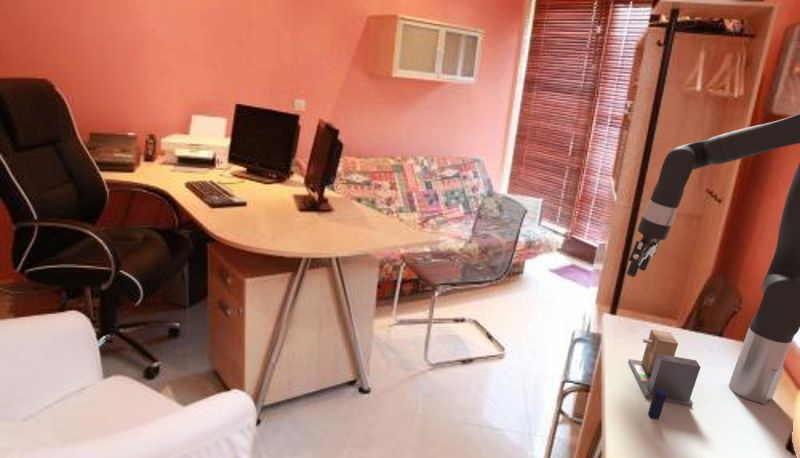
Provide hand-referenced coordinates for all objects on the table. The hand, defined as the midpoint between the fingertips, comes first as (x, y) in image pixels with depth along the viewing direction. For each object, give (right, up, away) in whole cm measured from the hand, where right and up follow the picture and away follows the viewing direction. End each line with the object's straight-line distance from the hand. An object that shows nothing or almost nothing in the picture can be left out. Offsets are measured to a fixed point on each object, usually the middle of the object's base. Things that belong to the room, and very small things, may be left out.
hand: (636, 272), depth 151 cm
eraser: (-7, -32, -25) cm, 41 cm away
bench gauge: (+1, -28, -10) cm, 30 cm away
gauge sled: (+1, -25, -6) cm, 26 cm away
